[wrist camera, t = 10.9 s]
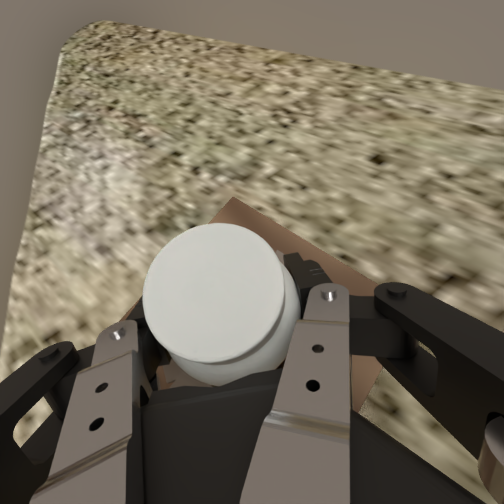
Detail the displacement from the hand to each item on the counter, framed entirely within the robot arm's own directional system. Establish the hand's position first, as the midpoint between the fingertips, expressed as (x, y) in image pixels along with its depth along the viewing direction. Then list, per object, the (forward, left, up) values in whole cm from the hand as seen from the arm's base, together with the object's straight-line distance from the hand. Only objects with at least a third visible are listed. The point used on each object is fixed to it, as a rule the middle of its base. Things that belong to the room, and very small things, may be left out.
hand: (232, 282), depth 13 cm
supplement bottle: (+1, +1, -4) cm, 5 cm away
